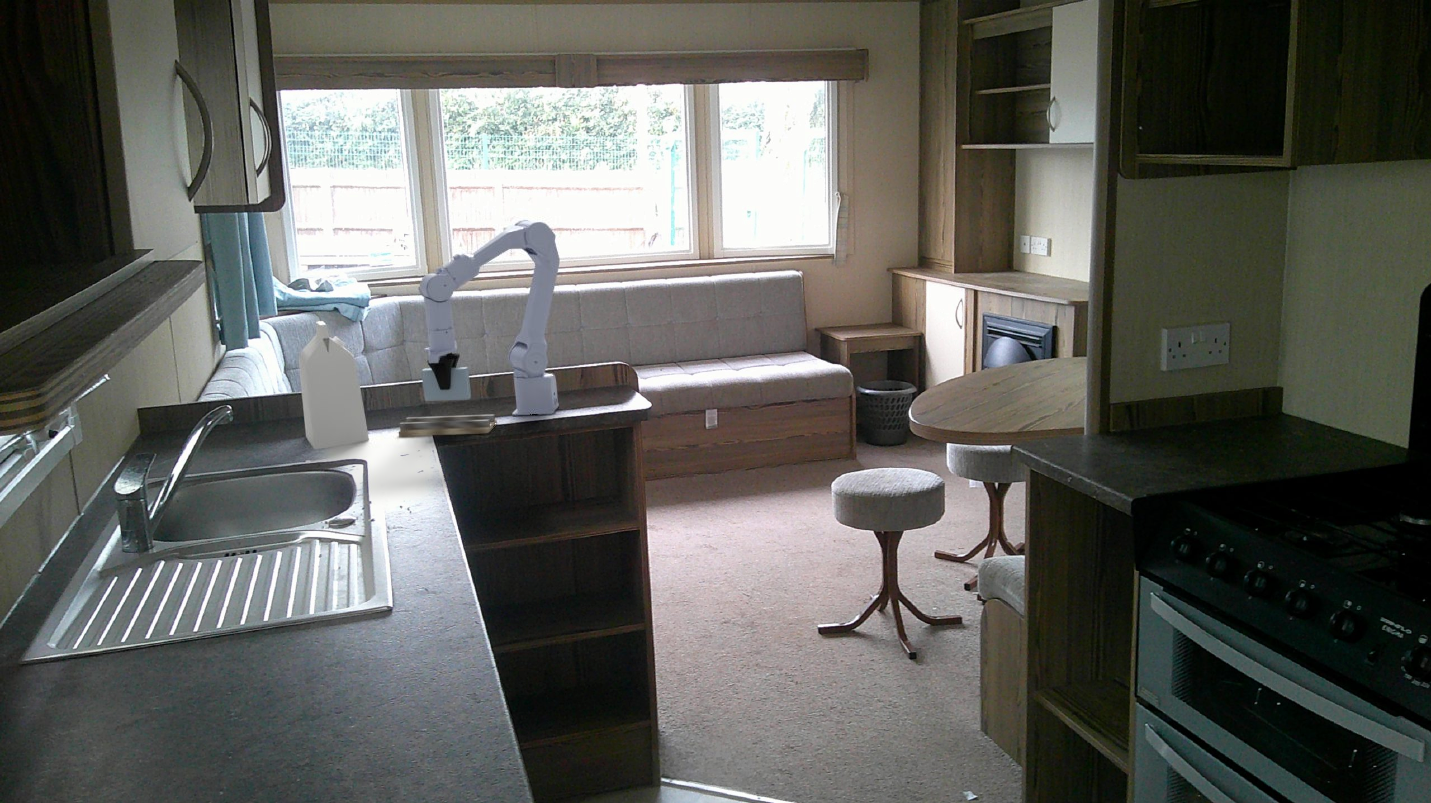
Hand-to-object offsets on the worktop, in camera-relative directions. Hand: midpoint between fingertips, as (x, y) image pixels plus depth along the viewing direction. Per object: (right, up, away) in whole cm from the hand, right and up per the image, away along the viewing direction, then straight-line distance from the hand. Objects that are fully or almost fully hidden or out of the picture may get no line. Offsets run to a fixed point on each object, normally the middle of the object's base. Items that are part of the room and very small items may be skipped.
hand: (446, 388), depth 255 cm
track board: (0, -9, 0) cm, 9 cm away
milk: (-24, -11, -2) cm, 26 cm away
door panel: (0, -2, +1) cm, 3 cm away
